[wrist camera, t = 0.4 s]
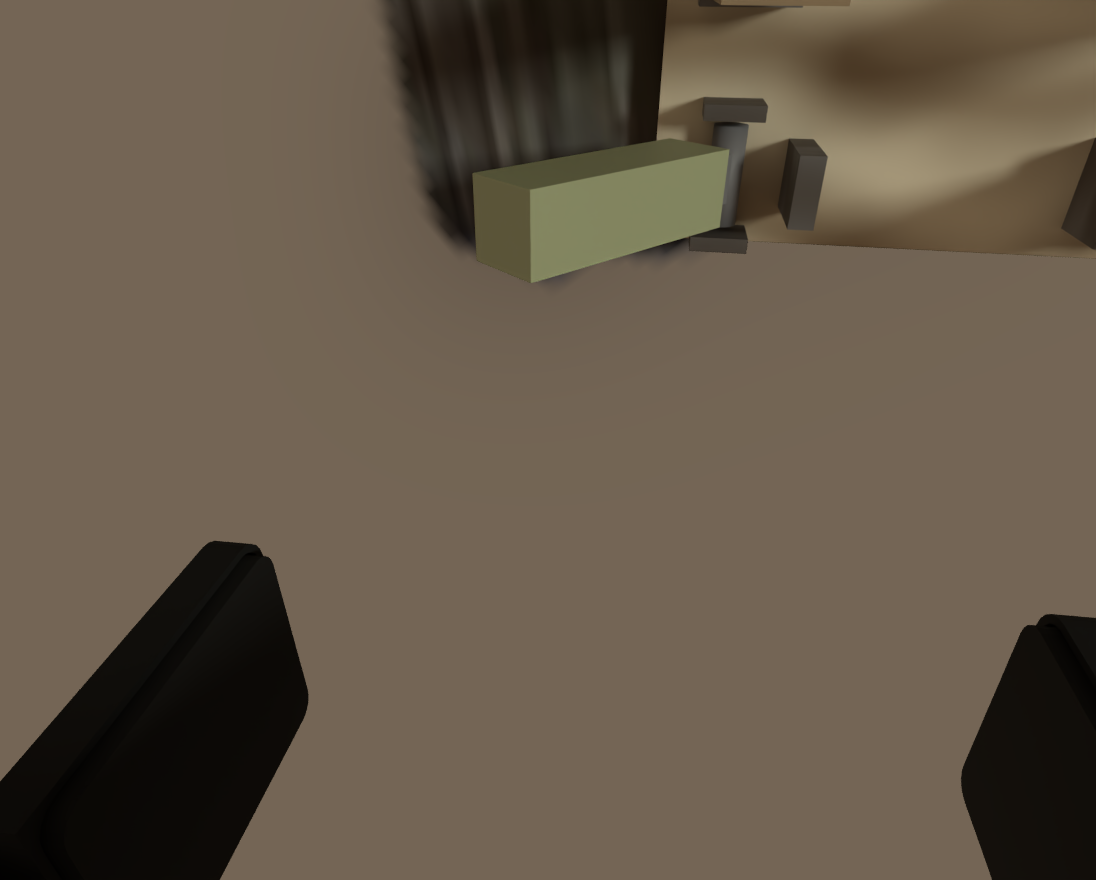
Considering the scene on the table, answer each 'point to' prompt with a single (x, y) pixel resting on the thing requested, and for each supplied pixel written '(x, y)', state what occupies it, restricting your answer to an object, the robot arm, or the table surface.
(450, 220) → the table surface
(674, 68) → the stool seat
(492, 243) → the hinged leg
